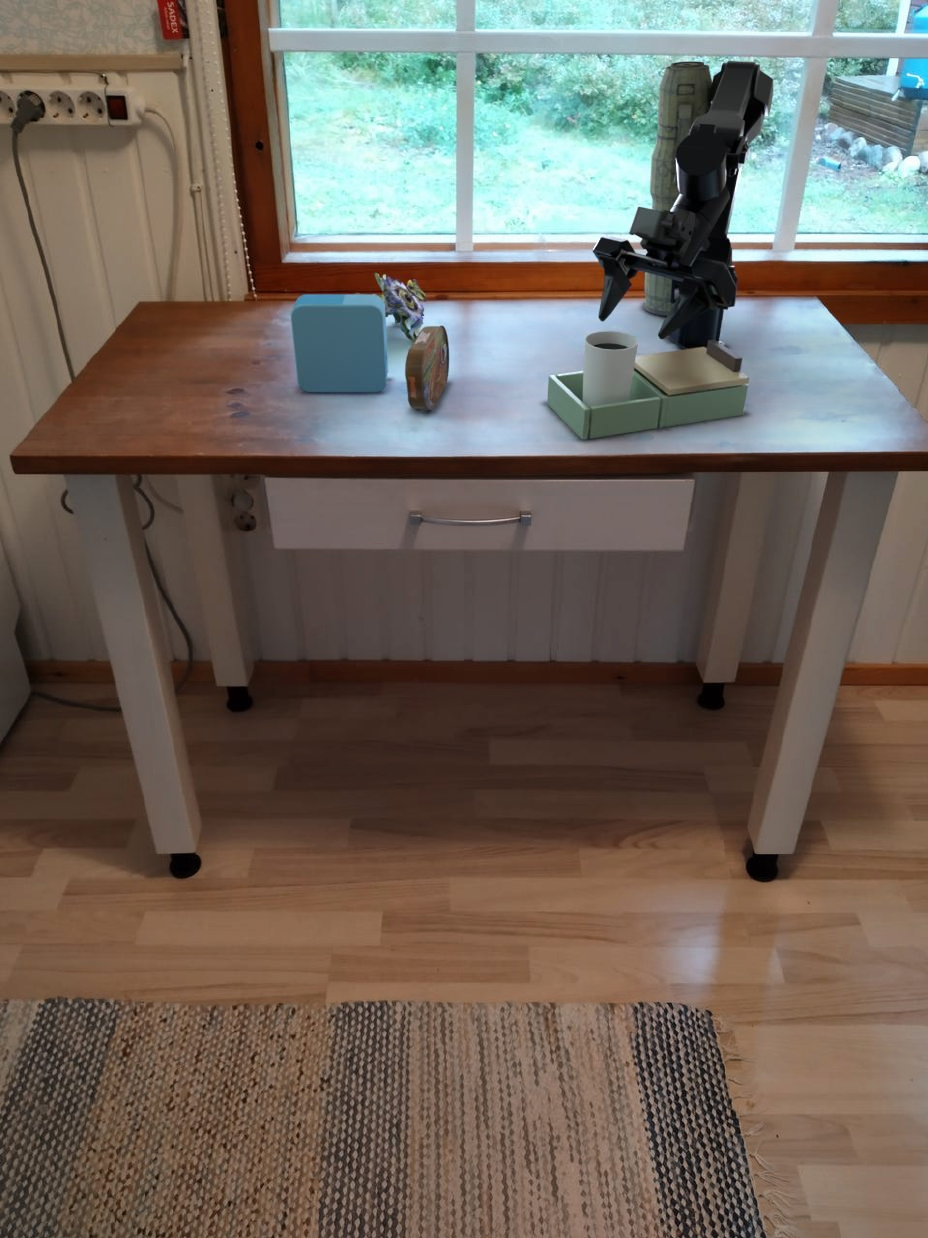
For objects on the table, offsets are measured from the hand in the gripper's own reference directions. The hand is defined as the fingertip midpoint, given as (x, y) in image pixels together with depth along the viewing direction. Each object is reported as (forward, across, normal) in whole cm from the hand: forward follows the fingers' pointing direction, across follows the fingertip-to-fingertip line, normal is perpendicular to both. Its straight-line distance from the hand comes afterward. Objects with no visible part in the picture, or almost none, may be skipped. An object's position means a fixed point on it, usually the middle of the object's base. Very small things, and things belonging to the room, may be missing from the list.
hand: (629, 328), depth 124 cm
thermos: (-19, -18, +34) cm, 42 cm away
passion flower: (+10, -41, +5) cm, 42 cm away
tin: (+18, -21, -3) cm, 28 cm away
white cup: (+10, 0, +5) cm, 11 cm away
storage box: (+7, +3, +9) cm, 11 cm away
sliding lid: (0, +5, +9) cm, 10 cm away
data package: (+22, -32, -7) cm, 39 cm away
